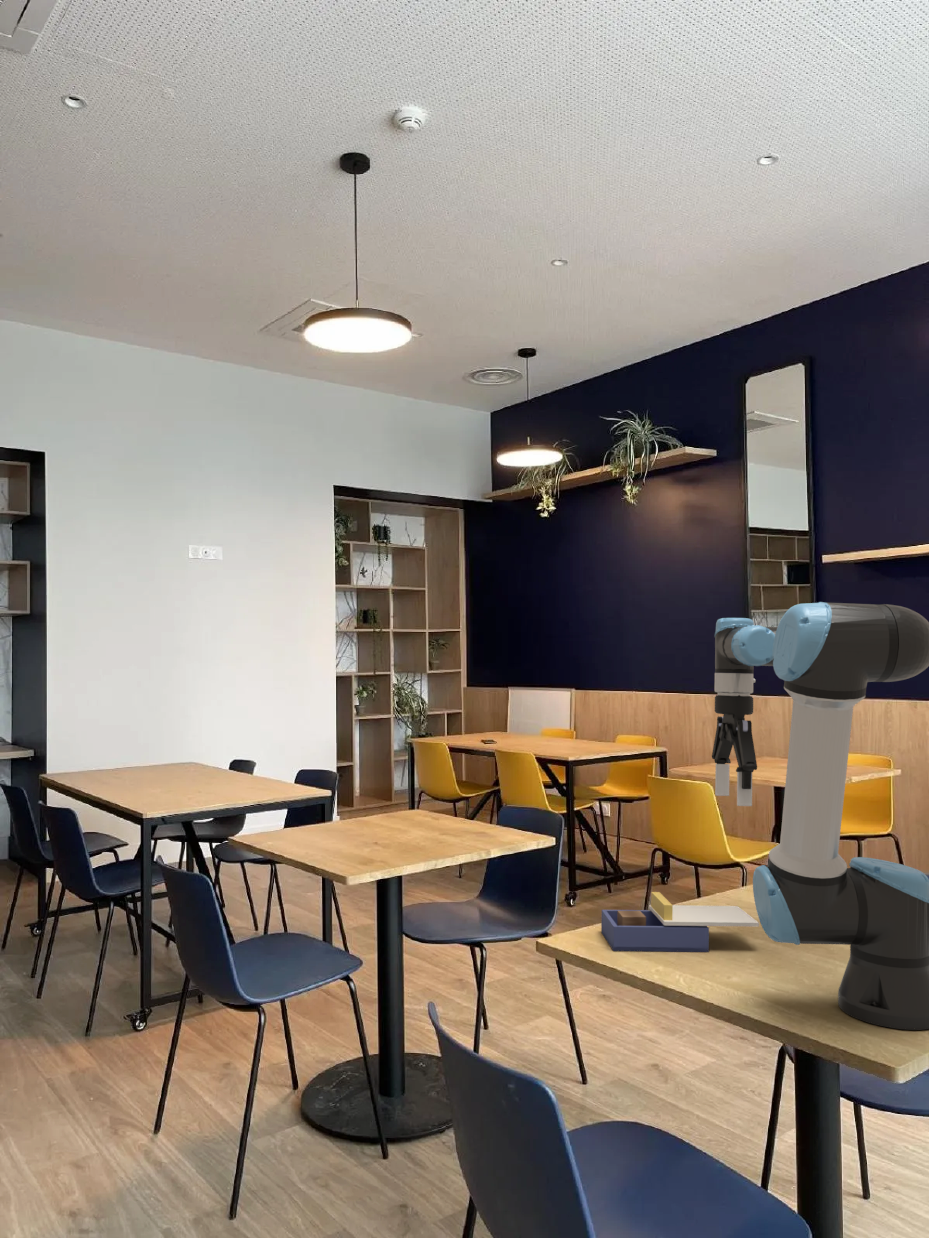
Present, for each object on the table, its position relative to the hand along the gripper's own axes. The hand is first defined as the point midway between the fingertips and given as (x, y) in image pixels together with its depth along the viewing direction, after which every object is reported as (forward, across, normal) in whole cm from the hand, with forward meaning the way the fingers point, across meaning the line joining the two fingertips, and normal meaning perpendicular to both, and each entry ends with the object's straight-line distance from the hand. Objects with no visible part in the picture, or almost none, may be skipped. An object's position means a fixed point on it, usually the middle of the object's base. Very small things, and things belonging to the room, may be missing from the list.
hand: (732, 800), depth 188 cm
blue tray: (+27, -5, +17) cm, 32 cm away
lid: (+22, -5, +8) cm, 24 cm away
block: (+26, -5, +21) cm, 34 cm away
